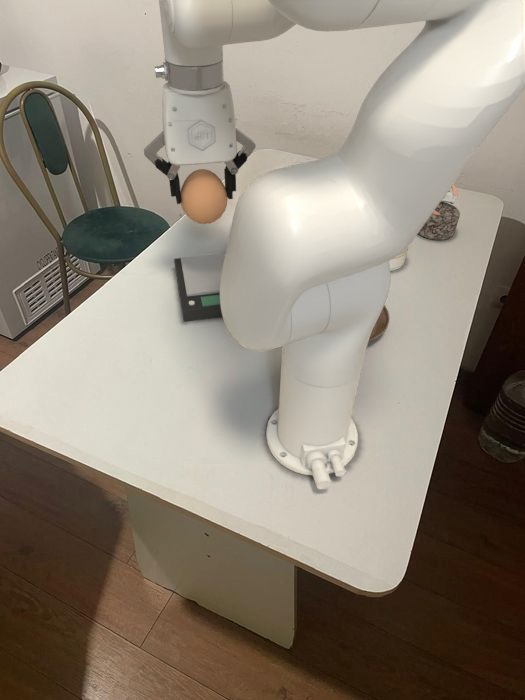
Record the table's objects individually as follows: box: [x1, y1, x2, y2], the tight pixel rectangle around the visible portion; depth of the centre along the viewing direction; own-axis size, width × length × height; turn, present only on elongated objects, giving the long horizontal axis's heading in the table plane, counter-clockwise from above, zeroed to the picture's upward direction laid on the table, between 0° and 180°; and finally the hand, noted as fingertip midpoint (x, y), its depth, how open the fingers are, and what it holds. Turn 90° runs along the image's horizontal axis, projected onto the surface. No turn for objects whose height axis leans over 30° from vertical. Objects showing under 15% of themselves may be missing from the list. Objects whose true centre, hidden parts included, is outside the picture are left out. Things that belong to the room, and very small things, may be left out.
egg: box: [180, 168, 228, 225], centre depth 80 cm, size 7×7×8 cm
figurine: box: [417, 183, 461, 241], centre depth 106 cm, size 15×9×18 cm, turn 166°
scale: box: [173, 252, 226, 323], centre depth 94 cm, size 16×14×3 cm
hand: (203, 196), depth 80 cm, fingers closed on egg, 7 cm apart
